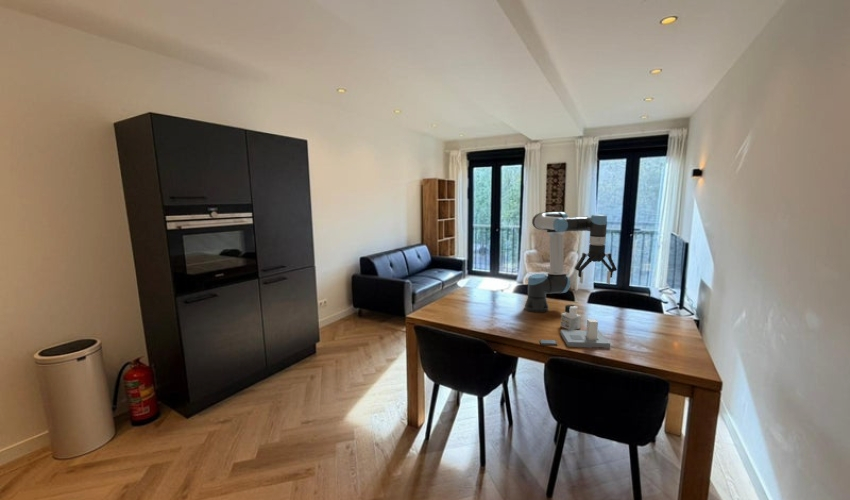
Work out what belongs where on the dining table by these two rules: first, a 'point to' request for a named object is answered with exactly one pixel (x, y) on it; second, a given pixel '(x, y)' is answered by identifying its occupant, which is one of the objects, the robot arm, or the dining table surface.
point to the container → (571, 318)
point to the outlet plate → (583, 339)
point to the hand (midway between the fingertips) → (594, 283)
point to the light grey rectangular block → (591, 329)
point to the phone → (548, 342)
